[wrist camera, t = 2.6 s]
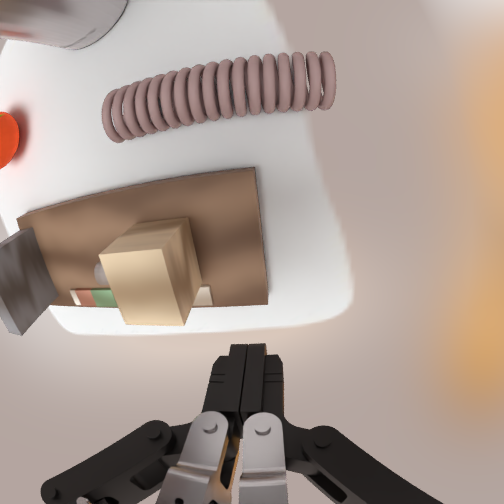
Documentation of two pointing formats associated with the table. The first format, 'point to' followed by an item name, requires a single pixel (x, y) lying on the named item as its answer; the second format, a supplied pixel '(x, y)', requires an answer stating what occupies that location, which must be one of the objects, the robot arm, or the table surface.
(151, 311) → the block
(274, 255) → the table surface
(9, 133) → the clementine
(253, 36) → the table surface
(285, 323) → the table surface
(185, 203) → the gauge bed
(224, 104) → the coil
